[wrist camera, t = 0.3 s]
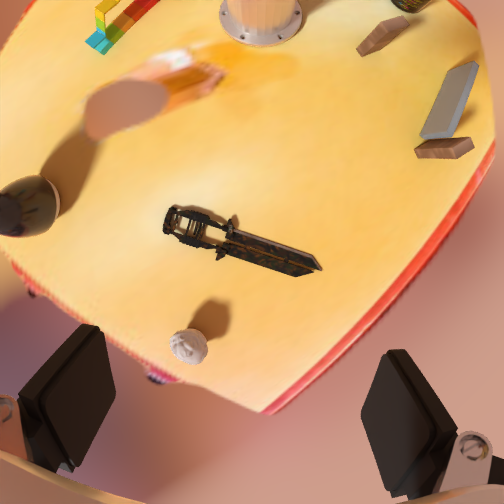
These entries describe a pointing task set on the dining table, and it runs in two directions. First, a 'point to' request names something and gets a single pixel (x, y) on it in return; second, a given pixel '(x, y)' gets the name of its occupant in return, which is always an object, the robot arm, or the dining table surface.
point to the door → (450, 102)
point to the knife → (245, 240)
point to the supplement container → (410, 5)
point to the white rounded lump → (189, 346)
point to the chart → (116, 22)
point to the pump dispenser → (28, 207)
